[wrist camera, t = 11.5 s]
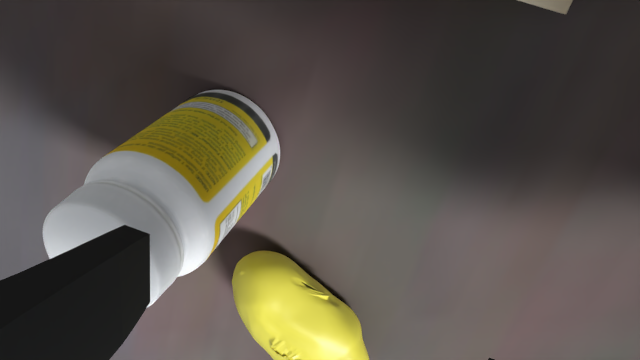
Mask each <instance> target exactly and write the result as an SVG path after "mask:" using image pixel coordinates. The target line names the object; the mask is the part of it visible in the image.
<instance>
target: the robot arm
mask: <svg viewBox="0 0 640 360" xmlns="http://www.w3.org/2000/svg"><path fill="white" fill-rule="evenodd" d="M149 303H150V234H149V233H146V232H143V231H140V230H138V229H135V228H132V227H129V226H127V225H123V226H121V227H118V228H116V229H114V230H112V231H109V232H107V233H105V234H103V235H101V236H98V237H96V238H94V239H92V240H90V241H88V242H86V243H84V244H81V245H79V246H77V247H75V248H73V249H71V250H69V251H66V252H64V253H62V254H60V255H58V256H56V257H53V258H51V259H49V260H47V261H44V262H42V263H40V264H38V265H36V266H33V267H31V268H29V269H27V270H25V271H22V272H20V273H18V274H15V275H13V276H10V277H8V278H6V279H3V280H1V281H0V360H109V359H110V358H111V357H112V356H113V354H114V353H115V352H116V351H117V350H118V348H119V347H120V346H121V345H122V344H123V342H124V341H125V339H126V338H127V337H128V335H129V334H130V332H131V331H132V329H133V328H134V326H135V325H136V323H137V322H138V320H139V319H140V317H141V316H142V314H143V313H144V311H145V309H146V308H147V306H148V305H149ZM488 360H494V359H491V358H489V359H488Z"/></svg>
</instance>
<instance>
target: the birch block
mask: <svg viewBox="0 0 640 360" xmlns="http://www.w3.org/2000/svg"><path fill="white" fill-rule="evenodd" d="M518 1H522V2H525V3H528V4H532V5H535V6H538V7H542V8H545V9H548V10H552V11H555V12H558V13H562V14H565V15H566V13H567V11H568V9H569V7H570V5H571V3H572V1H573V0H518Z"/></svg>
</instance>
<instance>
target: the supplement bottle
mask: <svg viewBox="0 0 640 360" xmlns="http://www.w3.org/2000/svg"><path fill="white" fill-rule="evenodd" d="M279 161H280V145H279V140H278V137H277V134H276V132H275V130H274V127H273V126H272V124H271V122H270V120H269V119H268V117H267V116H266V114H265V113H264V112H263V111H262V110H261V109H260V108H259V107H258V106H257V105H256V104H255V103H253V102H252V101H251V100H249V99H248V98H246V97H244V96H242V95H240V94H238V93H235V92H232V91H227V90H209V91H204V92H201V93H199V94H197V95H195V96H192V97H190V98H189V99H187V100H186V101H184V102H183V103H182V104H180V105H179V106H177V107H176V108H175V109H173V110H172V111H170V112H169V113H167V114H165V115H164V116H163V117H161V118H160V119H158V120H157V121H155V122H154V123H152V124H151V125H149V126H148V127H146V128H145V129H144V130H142V131H141V132H139V133H138V134H136V135H135V136H133V137H132V138H130V139H129V140H127V141H126V142H124V143H123V144H121V145H120V146H118V147H117V148H115V149H114V150H112V151H111V152H109V153H108V154H106V155H105V156H103V157H102V158H101V159H100V160H99V161H98V162H97V163H96V164H95V165H94V166H93V167H92V168H91V170H90V171H89V173H88V175H87V177H86V180H85V183H84V186H82V187H80V188H78V189H77V190H75V191H74V192H73V193H72V194H71V195H70V196H68V197H67V198H66V199H65V200H63V201H62V202H61V203H59V204H58V205H57V206H56V207H54V208H53V209H52V210H51V211H50V212H49V214H48V215H47V217H46V219H45V221H44V225H43V240H44V245H45V248H46V251H47V253H48V256H49V258H50V259H51V258H53V257H56V256H58V255H60V254H62V253H64V252H66V251H69V250H71V249H73V248H75V247H77V246H79V245H81V244H84V243H86V242H88V241H90V240H92V239H94V238H96V237H98V236H101V235H103V234H105V233H107V232H109V231H112V230H114V229H116V228H118V227H121V226H123V225H127V226H129V227H132V228H135V229H138V230H140V231H143V232H146V233H149V234H150V303H149V305H148V306H147V307H149V306H151V305H152V304H153V303H154V302H155V301H156V300H157V299H158V298H159V297H160V296H161V295H162V294H163V292H164V291H165V290H166V289H167V288H168V287H169V286H170V285H171V284H172V283H173V282H174V281H175V279H176V278H177V277H179V276H183V275H186V274H188V273H190V272H192V271H194V270H195V269H197V268H198V267H199V266H200V265H201V264H203V263H204V262H205V261H206V260H207V259H208V257H209V256H210V255H211V253H212V252H213V251H214V250H215V249H216V247H217V246H218V245H219V244H220V242H221V241H222V240H223V239H224V237H225V236H226V235H227V234H228V232H229V231H230V230H231V229H232V228H233V226H234V225H235V224H236V223H237V221H238V220H239V219H240V218H241V217H242V215H243V214H244V213H245V212H246V211H247V209H248V208H249V207H250V206H251V204H252V203H253V202H254V201H255V200H256V198H257V197H258V196H259V195H260V193H261V192H262V191H263V190H264V188H265V187H266V186H267V185H268V184H269V182H270V181H271V180H272V178H273V177H274V175H275V173H276V171H277V169H278V166H279Z"/></svg>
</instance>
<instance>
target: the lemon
mask: <svg viewBox="0 0 640 360" xmlns="http://www.w3.org/2000/svg"><path fill="white" fill-rule="evenodd" d="M232 285H233V294H234V300H235V304H236V307H237V310H238V313H239V315H240V317H241V319H242V320H243V322H244V324H245V326H246V328H247V329H248V331H249V332H250V334H251V335H252V337H253V338H254V339H255V340H256V342H257V343H258V344H259V345H260V346H262V347H263V348H264V349H265V350H266V351H267V353H268V354H269V355H270V356H271V357H272V358H273V359H274V360H369V357H368V353H367V350H366V347H365V345H364V342H363V338H362V330H361V325H360V322H359V320H358V318H357V316H356V314H355V313H354V312H353V310H352V309H351V308H350V307H349V306H347V305H346V304H345V303H343V302H342V301H341V300H339V299H338V298H336V297H335V296H334V295H332V294H331V293H330V292H329V291H328V290H327V289H326V288H324V287H323V286H322V285H321V284H320V283H319V282H318V281H316V280H315V279H313V278H312V277H311V276H310V275H308V274H307V273H306V272H305V271H304V270H303V269H302V268H300V267H299V266H298V265H297V264H296V263H295V262H294V261H292V260H291V259H290V258H288V257H287V256H285V255H282V254H280V253H277V252H272V251H255V252H252V253H250V254H248V255H246V256H244V257H243V258H242V259H241V260H240V261H239V262H238V263H237V264H236V268H235V270H234V273H233V279H232Z"/></svg>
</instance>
